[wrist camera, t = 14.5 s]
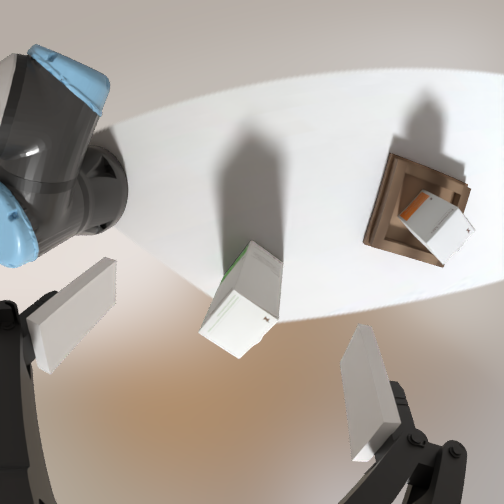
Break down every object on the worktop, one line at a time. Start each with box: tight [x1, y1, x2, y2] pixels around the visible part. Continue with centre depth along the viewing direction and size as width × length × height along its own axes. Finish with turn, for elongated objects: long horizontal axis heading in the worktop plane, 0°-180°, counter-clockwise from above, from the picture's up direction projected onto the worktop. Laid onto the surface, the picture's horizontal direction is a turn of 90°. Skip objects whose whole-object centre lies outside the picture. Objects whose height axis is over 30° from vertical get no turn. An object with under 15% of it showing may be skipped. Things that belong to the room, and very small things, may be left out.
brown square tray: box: [363, 153, 471, 268], centre depth 42 cm, size 14×14×3 cm
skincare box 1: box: [198, 241, 283, 359], centre depth 43 cm, size 8×7×16 cm
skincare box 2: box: [398, 189, 475, 264], centre depth 37 cm, size 6×4×12 cm
